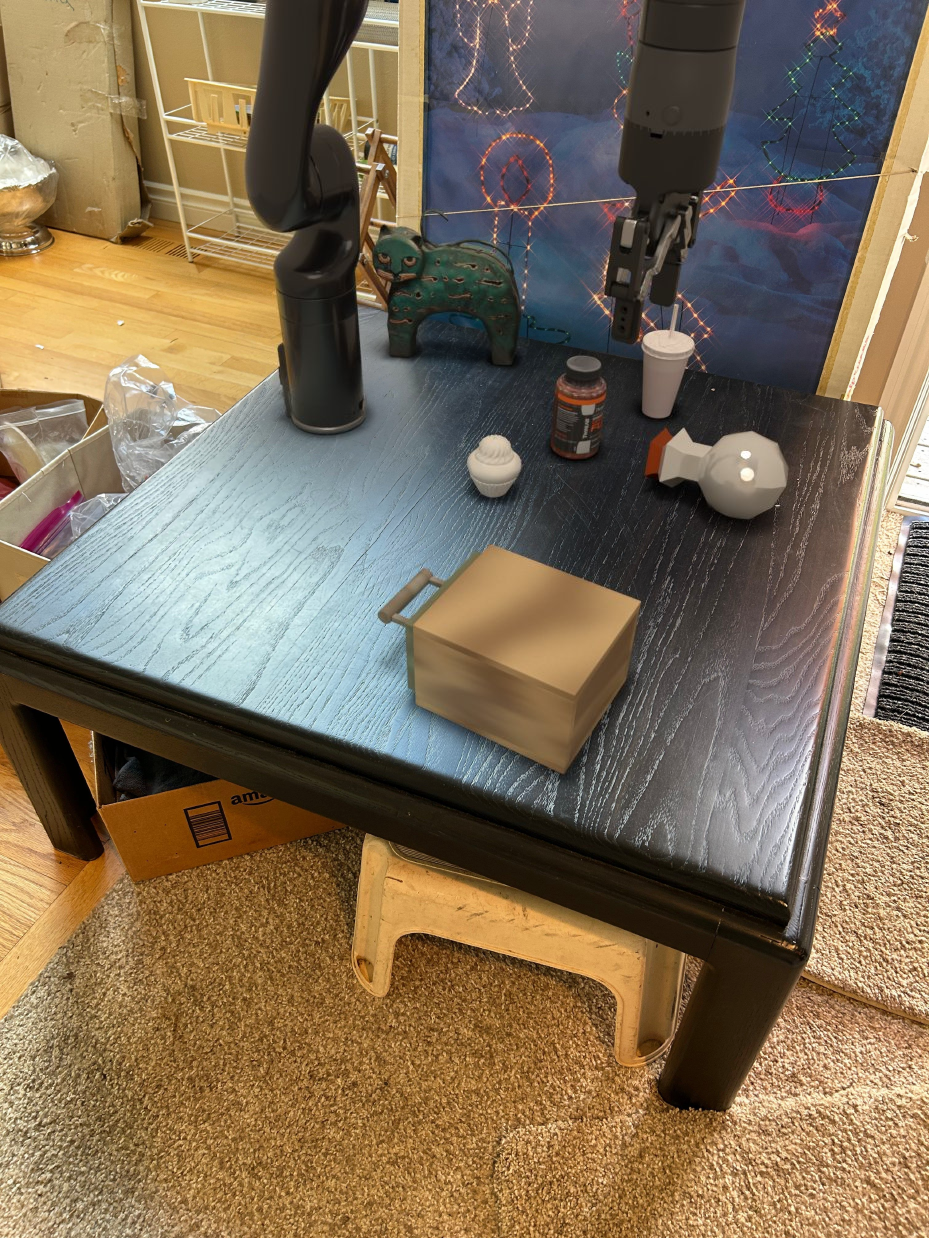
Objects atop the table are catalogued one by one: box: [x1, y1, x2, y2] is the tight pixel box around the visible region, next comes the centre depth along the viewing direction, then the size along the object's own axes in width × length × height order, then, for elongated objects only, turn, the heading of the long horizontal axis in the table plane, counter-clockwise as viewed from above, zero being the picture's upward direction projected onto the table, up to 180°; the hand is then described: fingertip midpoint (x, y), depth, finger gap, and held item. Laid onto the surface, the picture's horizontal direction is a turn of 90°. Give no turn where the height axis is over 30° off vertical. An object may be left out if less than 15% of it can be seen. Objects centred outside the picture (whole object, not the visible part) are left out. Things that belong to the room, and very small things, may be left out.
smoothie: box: [641, 303, 695, 419], centre depth 113 cm, size 6×6×14 cm
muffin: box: [466, 434, 522, 498], centre depth 101 cm, size 6×6×7 cm
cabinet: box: [413, 543, 642, 775], centre depth 77 cm, size 15×13×10 cm
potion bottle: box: [644, 427, 790, 520], centre depth 100 cm, size 9×10×15 cm
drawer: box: [377, 550, 483, 692], centre depth 79 cm, size 18×11×8 cm, turn 59°
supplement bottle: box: [550, 355, 608, 460], centre depth 107 cm, size 6×6×11 cm
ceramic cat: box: [371, 208, 522, 366], centre depth 122 cm, size 20×6×20 cm, turn 81°
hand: (643, 322), depth 78 cm, fingers open, 8 cm apart
